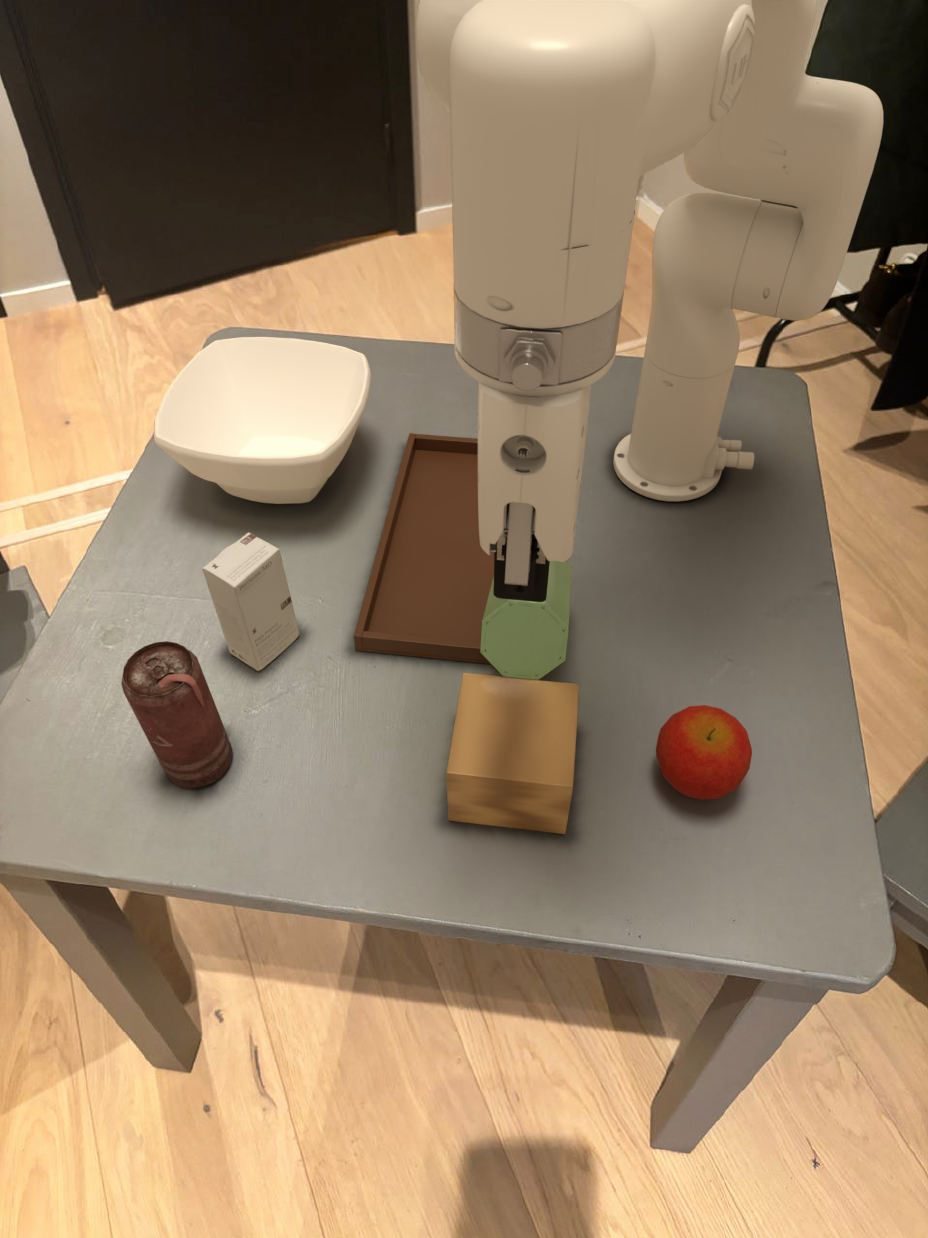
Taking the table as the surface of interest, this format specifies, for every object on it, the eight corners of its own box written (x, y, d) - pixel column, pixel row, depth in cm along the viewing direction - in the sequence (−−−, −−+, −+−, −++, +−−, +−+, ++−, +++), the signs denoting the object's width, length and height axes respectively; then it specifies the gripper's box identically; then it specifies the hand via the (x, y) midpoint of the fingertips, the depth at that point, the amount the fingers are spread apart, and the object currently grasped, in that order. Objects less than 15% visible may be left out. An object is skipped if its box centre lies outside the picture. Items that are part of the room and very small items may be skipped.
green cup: (562, 682, 76) (566, 613, 89) (571, 606, 73) (573, 545, 86) (478, 674, 77) (494, 606, 89) (483, 597, 74) (499, 539, 86)
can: (221, 796, 79) (181, 705, 68) (154, 784, 79) (104, 692, 69) (246, 738, 82) (212, 643, 72) (181, 727, 83) (138, 632, 73)
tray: (554, 459, 108) (556, 444, 106) (532, 668, 87) (533, 654, 86) (410, 448, 109) (409, 432, 107) (355, 650, 89) (353, 636, 87)
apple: (702, 727, 83) (720, 676, 77) (757, 794, 78) (781, 746, 72) (632, 760, 81) (645, 711, 75) (685, 831, 76) (703, 785, 70)
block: (571, 735, 82) (579, 683, 76) (565, 834, 76) (573, 787, 70) (464, 723, 83) (463, 672, 77) (448, 820, 77) (446, 772, 71)
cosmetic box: (260, 674, 87) (234, 590, 78) (227, 653, 89) (198, 568, 80) (302, 633, 90) (283, 549, 81) (270, 614, 92) (247, 529, 83)
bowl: (394, 426, 112) (387, 345, 103) (348, 552, 98) (336, 470, 89) (225, 409, 114) (204, 328, 106) (157, 529, 100) (126, 446, 92)
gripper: (614, 429, 36) (575, 696, 50) (622, 244, 45) (587, 512, 59) (429, 415, 36) (441, 682, 50) (475, 236, 46) (475, 503, 60)
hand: (520, 590), depth 55 cm, fingers closed
